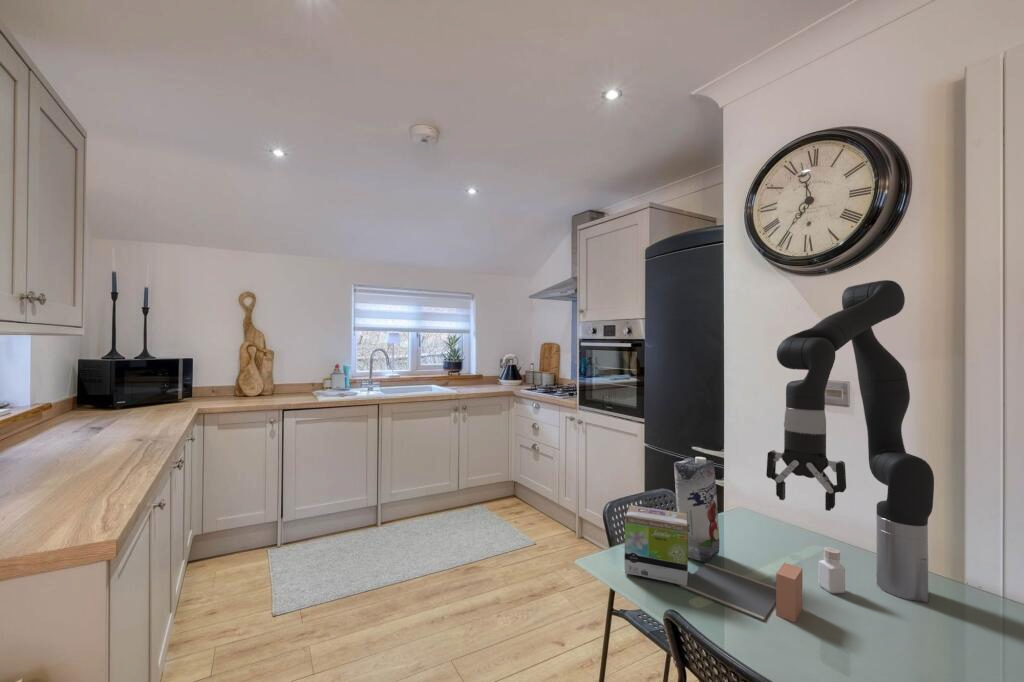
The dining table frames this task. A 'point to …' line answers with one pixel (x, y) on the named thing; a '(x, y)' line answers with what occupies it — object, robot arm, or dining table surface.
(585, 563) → the dining table surface
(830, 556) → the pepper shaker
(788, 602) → the brick
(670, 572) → the tea box
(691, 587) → the tray
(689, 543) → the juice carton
